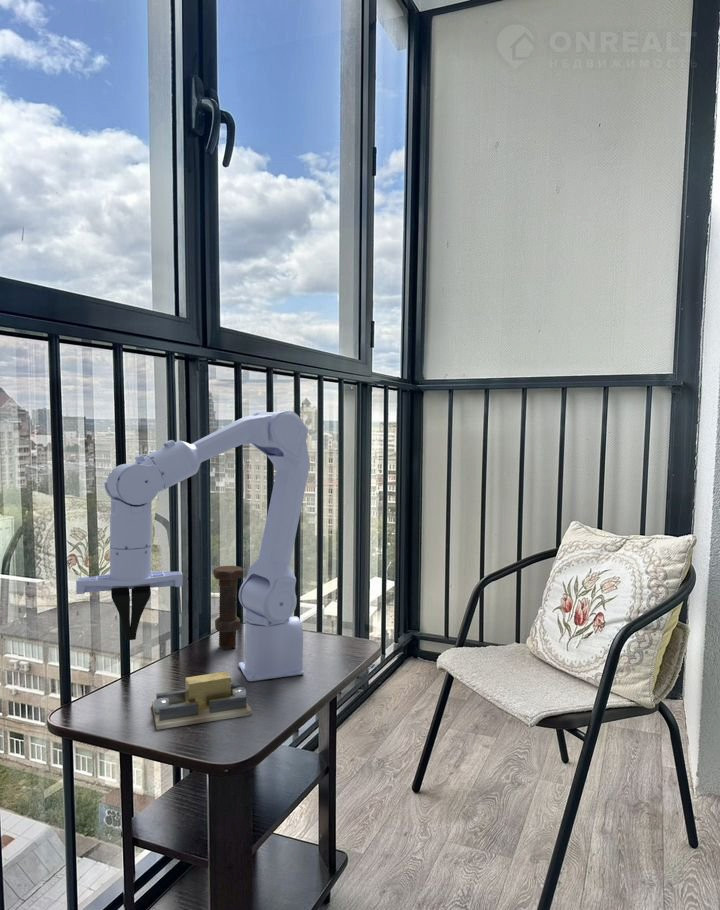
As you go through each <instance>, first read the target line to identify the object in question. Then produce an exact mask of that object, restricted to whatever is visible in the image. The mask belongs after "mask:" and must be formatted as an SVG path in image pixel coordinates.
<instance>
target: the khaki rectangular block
mask: <svg viewBox="0 0 720 910" xmlns="http://www.w3.org/2000/svg"><path fill="white" fill-rule="evenodd" d="M231 683H232V677H231V676H230V674H229V673H228V672H227V671H220V672H219V671H218V672H214V673H213V672H212V673H207V674H201V675H194V676H188V677H185V686H184V687H185V689H184V690H185V703H191V702H198V704H199V706H198V710H203V709H209V700H212V699H219V698H226V697H231Z"/></svg>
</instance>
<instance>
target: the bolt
mask: <svg viewBox="0 0 720 910" xmlns="http://www.w3.org/2000/svg"><path fill="white" fill-rule="evenodd" d="M213 577H214V578H215V580H218V586H219V592H218V593H219V596H218V597H219V599H218V602H219V603H218V604H219V606H218V607H219V608H218V610H219V612H218V614H219V615H218V617H217V618H215V620H214V626H215V627H214V628H215V630H216V631H218V637H219V638H218V647H219V648H220V649H223V650H226V651H227V650H231V649H234V648H235V647H236V646H237V631H238V630H239V629H240V628H241V619H240V617H238V616H237V599H238V598H237V596H238V595H237V593H238V592H237V591H238V589H237V588H238V579H242V578H244V570H243V568H242V566H237V565H221V566H216V567H215V568H214V569H213Z"/></svg>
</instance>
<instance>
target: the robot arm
mask: <svg viewBox="0 0 720 910" xmlns="http://www.w3.org/2000/svg"><path fill="white" fill-rule="evenodd" d="M308 434H309V428H308V427H307V425H306V424H305V422H304V421H303V420H302V418H301V417H300V416H299V414H297V413H296V412H294V411H292V410H283V411H271V412H269V411H267V412H265V411H258V412H255V413H253V414H252V415H247V416H243V417H241V418H239V419H237V420H235V421H233V422H231V423H229V424H227V425H225V426H223V427H222V428H221V427H220V428H219V429H217V430H215V431H213V432H212V433H210V434H208V435H206V436H204V437H201V438H200V439H198V440H196V441H194V442H192V443H189V442H186V441H183V440H178V441H175V440H174V439H171V440H167V441H165V442H163V446H164V447H162V448H160V449H158V450H156V451H153V452H150V453H149V454H146V455H145V456H144V455H143V454H139V455H137V456H135V457H134V459H135V462H134V463H133V464H131V463H123V464H119V465H117V466H116V467H114V468H113V469H112V470H111V472H110V473H108V476H107V477H106V478H107V479H106V481H105V482H104V489H105V491H106V493H107V496H109V498H110V514H109V515H110V517H109V518H110V519H109V522H110V523H109V525H110V526H109V528H110V530H109V562H110V563H109V573H108V574H102V575H94V576H86V577H77V578H76V579H75V580H76V581H75V585H76V586H75V593H76V594H75V595H83V594H85V593H95V592H96V593H97V592H110V594H111V600H112V602H113V604H114V605H115V608H116V610H117V612H118V615H119V618H120V620H121V623H122V626H123V629H124V638H125V640H124V641H133V640H136V639H137V631H138V628H139V624H140V621H141V617H142V615H143V612H144V610H145V608H146V606H147V604H148V602H149V601H150V598H151V594H152V591H151V589H153V588H165V587H175V588H180V587H183V581H184V578H183V572H182V571H179V570H178V571H152V552H153V547H152V546H153V545H152V539H153V538H152V536H153V535H152V534H153V533H152V531H153V529H152V528H153V527H152V526H153V524H152V523H153V522H152V521H153V519H152V518H153V514H152V502H153V501H154V499H155V498H156V496H157V495H158V493H160V492H163V491H164V490H166V489H168V488H171V487H172V486H175V485H176V484H178V483H180V482H182V481H185V480H186V479H189V478H190V477H192V476H194V475H196V474H197V473H198V472H199V469H200V467H201V465H202V464H201V463H203V462H205V461H208V460H209V459H212V458H215V457H217V456H219V455H221V454H224V453H226V452H228V451H230V450H232V449H235V448H238V447H240V446H241V445H244V444H251V445H252V446H254V447H255V448H256V449H257V450H258V451H260V452H262V453H263V454H264V455H265V456H266V457H267V458H268V460H270V462H271V463H272V465H273V466H274V468H275V469H276V472H275V476H274V482H273V487H272V491H271V497H270V502H269V506H268V511H267V515H266V520H265V524H264V531H263V533H262V539H261V543H260V548H259V549H260V550H259V554H258V557H257V558H258V559H256V560H255V562H253V563H252V564H251V565H250V566H249V568H248V572H247V576H246V577H245V579H244V580H243V582H242V584H241V585H240V587H239V590H238V600H239V602H240V605H241V606H242V607H243V608H244V609H245V622H244V623H245V632H244V633H245V635H244V661H240V662H239V663H238V667H239V669H241V672H242V674H243V676H244V677H245V679H246V680H247V682H256V681H257V682H258V681H263V680H270V679H278V678H284V677H285V678H286V677H292V676H293V677H294V676H299V675H304V674H305V671H304V670H303V659H304V633H303V632H304V631H303V625H302V622H301V619H300V618H299V617H298V616H297V615H295V616H292V615H293V614H294V612H295V610H296V607H297V603H298V602H297V600H298V598H297V594H296V583H297V578H296V576H295V573H294V572H293V570H292V569H293V568H292V567H291V561H292V556H293V550H294V546H295V542H296V537H297V530H298V525H299V521H300V515H301V512H302V511H301V510H302V506H303V502H304V496H305V491H306V486H307V483H308V482H307V481H308V477H309V472H310V464H311V461H310V456H309V455H310V454H309V451H308V450H309V449H308V445H307V438H308ZM130 590H131V595H130ZM130 609H131V610H130ZM130 613H131V614H130ZM130 615H131V616H130Z"/></svg>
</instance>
